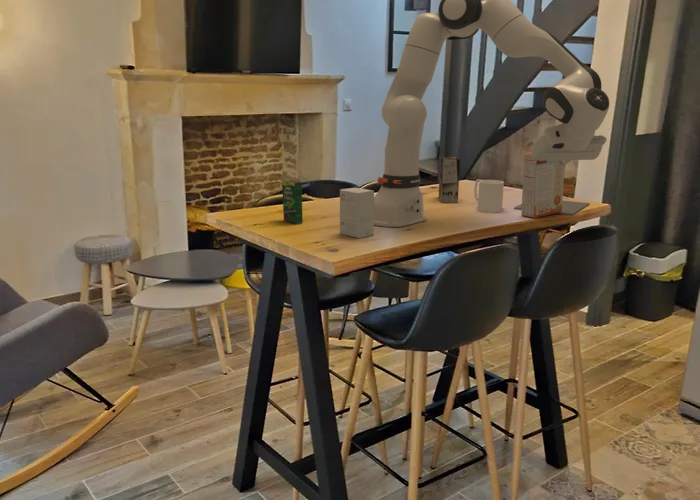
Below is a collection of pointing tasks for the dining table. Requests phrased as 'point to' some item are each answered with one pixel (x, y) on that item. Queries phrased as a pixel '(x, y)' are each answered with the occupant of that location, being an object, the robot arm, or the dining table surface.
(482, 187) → the cup
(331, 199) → the dining table surface
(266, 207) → the dining table surface
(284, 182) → the coffee box
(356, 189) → the small box
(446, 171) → the coffee box
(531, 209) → the cracker box
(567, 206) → the slate mat
